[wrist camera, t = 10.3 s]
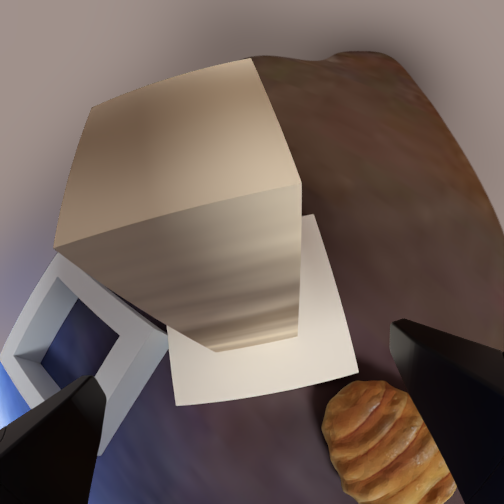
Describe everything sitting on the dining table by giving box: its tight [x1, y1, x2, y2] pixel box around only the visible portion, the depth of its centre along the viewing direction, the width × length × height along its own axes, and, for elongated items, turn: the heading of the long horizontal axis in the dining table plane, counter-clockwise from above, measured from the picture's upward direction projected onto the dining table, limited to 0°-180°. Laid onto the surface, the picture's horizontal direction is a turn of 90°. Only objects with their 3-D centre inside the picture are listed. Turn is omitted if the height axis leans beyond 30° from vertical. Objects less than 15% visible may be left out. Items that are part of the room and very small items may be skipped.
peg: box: [53, 58, 302, 352], centre depth 11 cm, size 4×4×12 cm
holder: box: [0, 252, 169, 456], centre depth 16 cm, size 10×10×3 cm
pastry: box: [321, 380, 457, 504], centre depth 11 cm, size 9×7×4 cm
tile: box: [167, 214, 359, 406], centre depth 17 cm, size 10×10×1 cm
